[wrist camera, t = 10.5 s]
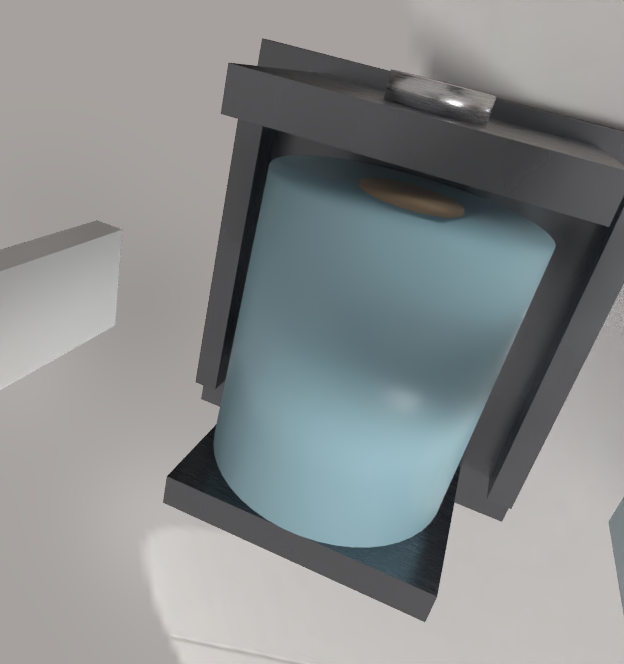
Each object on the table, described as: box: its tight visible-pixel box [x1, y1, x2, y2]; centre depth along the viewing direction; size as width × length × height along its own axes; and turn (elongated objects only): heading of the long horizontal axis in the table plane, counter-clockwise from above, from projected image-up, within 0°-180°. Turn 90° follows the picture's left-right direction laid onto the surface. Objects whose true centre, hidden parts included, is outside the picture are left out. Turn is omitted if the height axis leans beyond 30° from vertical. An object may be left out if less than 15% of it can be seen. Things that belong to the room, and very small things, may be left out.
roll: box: [213, 155, 556, 547], centre depth 16 cm, size 8×7×7 cm
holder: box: [163, 39, 624, 622], centre depth 17 cm, size 13×12×7 cm
